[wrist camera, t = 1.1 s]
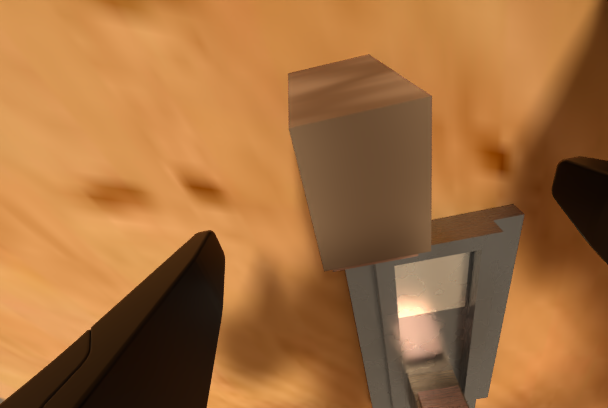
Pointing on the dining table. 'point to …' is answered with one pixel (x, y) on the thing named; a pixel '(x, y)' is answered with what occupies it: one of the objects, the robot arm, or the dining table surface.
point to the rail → (437, 312)
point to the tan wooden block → (363, 160)
